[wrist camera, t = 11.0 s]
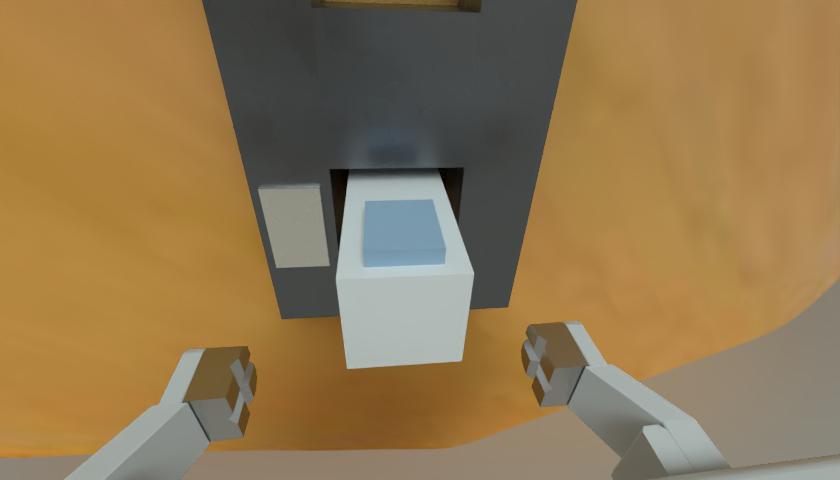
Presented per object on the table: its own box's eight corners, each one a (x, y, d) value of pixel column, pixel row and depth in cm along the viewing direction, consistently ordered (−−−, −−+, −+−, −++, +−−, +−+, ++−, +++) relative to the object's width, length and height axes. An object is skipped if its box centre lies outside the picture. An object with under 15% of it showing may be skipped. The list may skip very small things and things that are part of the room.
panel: (294, 270, 23) (280, 321, 19) (168, -362, 10) (64, -535, 7) (489, 262, 24) (508, 309, 20) (587, -310, 11) (679, -435, 8)
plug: (356, 218, 21) (347, 368, 13) (350, 137, 18) (333, 263, 10) (427, 216, 22) (461, 361, 13) (431, 137, 19) (476, 257, 11)
